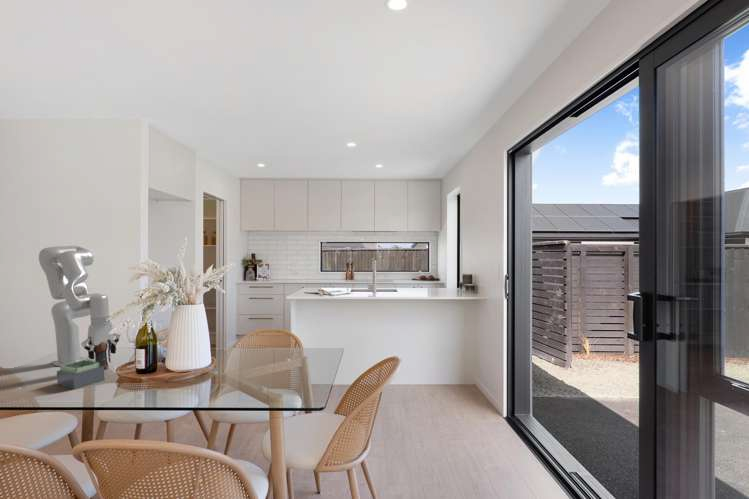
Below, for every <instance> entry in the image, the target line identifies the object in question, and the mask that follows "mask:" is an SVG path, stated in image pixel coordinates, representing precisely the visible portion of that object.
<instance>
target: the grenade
mask: <svg viewBox="0 0 749 499" xmlns="http://www.w3.org/2000/svg"><path fill="white" fill-rule="evenodd" d="M110 349H111V340H110V339H108V343H106V342H101V343H100V344H99V345H98V346H95V347H94V349H93V351H94V361H95V362H100V366H103V367H104V369H105V370H107V369H108V368H109V364H111V362H112V360H111V351H110ZM107 353H108V354H107ZM108 362H109V363H108Z"/></svg>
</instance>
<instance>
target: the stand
mask: <svg viewBox="0 0 749 499" xmlns="http://www.w3.org/2000/svg"><path fill="white" fill-rule="evenodd" d="M56 379H57V385H58V386H60V387H64V388H68V389H71V390H77V389H81V388H84V387H87V386H89V385H93V383H94V384H96V383H99V382H103V381H105V380H106V379H105V370H104V367H103V366H100V362H96V361H95V360H91V359H84V360H82V361H78V362H74V363H70V364H66V365H63V366H59V370H56Z"/></svg>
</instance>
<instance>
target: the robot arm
mask: <svg viewBox="0 0 749 499" xmlns="http://www.w3.org/2000/svg"><path fill="white" fill-rule="evenodd" d="M94 261H95V260H94V255H93V253H92V251H90V250H88V249H87V248H84V247H80V246H78V245H67V246H66V245H65V246H63V245H62V246H48V247H44V248H43V249H41V250H40V251H39V254H38V262H39V265H40V267H41V269H42V271H43V272H44V274H45V276H46V280H47V283H48V285H47V286H48V289H49V293H50V296H51V298H52V299H53V300H65V301H60V302H57V303H55V304H53V306H52V307H51V309H50V310H51V316H52V319H53V323H54V333H55V343H56V344H55V345H56V357H57V360H56V361H54V362H53V365H54V366H55V367H60V366H63V365H66V364H70V363H74V362H78V361H82V360H85V357H84V356H81V346H82V347H83V348H84V350H86V351H87V354H88V355H87V356H88V358H89V360H95V353H94V351H93V349H94V347H95V346H98V345H99V344H100V343H101V342H106V343H107V344H108V339H110V340H111V349H110V354H116V351H117V347H116V346H117V344H118V343H119V341H120V338H121V334H119V333H116V332H114V333H113V334H109V332H110V331H111V330H112V329H113V330H114V327H113V324H112V321H111V319H110V320H108V321H106V318H108V317H109V316H110V307H109V298H108V297H109V296H108V295H107V294H100V293H90V291H89V288H88V285H87V283H86V282H85V281H86V280H87V279H88V278H89V273H88V271H87V269H86V267H89V266H92V265H93V264H94ZM59 264H60V265H59ZM88 316H89V317H90V324H89V325H88V328H87V329H88V330H87V339H85V340H83V341H82V342H81V343H80V331H79V327H78V324H77V323H76V322H75V321H74V320H73V319H79V318H84V317H88Z"/></svg>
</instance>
